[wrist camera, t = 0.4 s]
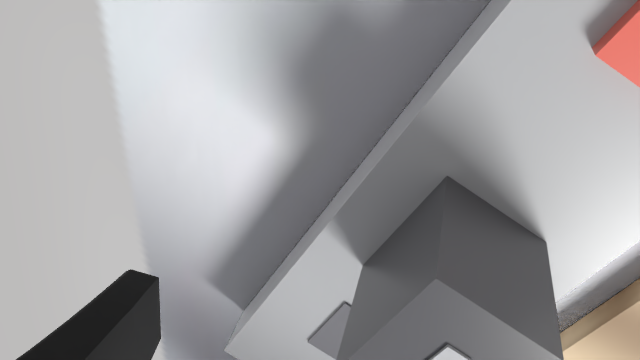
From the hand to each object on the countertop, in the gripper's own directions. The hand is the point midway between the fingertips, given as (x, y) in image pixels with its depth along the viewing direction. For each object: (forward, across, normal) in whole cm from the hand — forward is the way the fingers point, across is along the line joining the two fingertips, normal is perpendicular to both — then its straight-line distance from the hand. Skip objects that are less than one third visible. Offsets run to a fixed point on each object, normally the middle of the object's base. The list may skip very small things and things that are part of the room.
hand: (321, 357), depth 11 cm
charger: (+10, -3, +4) cm, 12 cm away
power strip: (+10, -3, +4) cm, 12 cm away
